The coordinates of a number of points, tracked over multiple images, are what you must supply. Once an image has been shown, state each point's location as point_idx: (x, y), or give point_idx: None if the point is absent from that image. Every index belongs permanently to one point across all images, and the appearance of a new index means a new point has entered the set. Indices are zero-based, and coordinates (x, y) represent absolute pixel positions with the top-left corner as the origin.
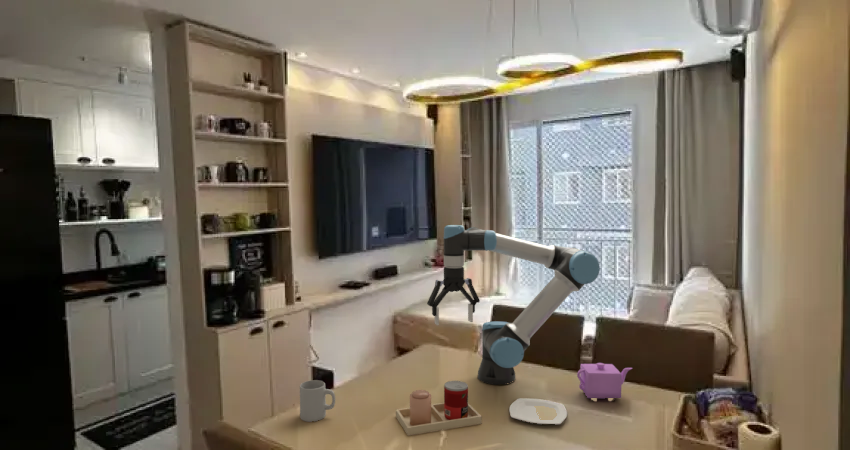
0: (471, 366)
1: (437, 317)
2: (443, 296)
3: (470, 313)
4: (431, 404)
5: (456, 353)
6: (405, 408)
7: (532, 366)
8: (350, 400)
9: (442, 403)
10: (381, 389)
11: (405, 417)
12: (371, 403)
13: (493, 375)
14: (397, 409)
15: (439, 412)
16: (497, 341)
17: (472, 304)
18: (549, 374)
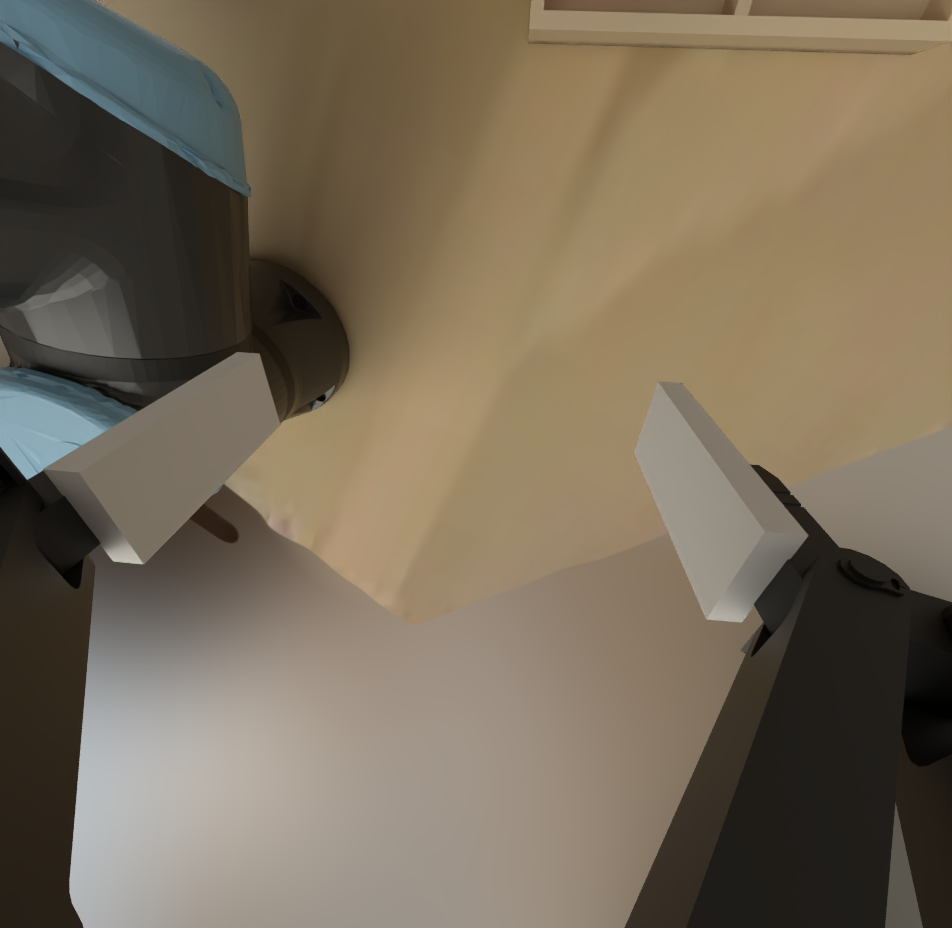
0: (340, 467)
1: (714, 430)
2: (776, 820)
3: (199, 412)
4: (732, 33)
5: (356, 562)
6: (896, 32)
7: None
8: (896, 356)
9: (670, 20)
10: (724, 406)
11: (890, 10)
12: (855, 294)
13: (286, 299)
14: (942, 38)
15: (691, 3)
16: (82, 57)
17: (53, 496)
18: None
